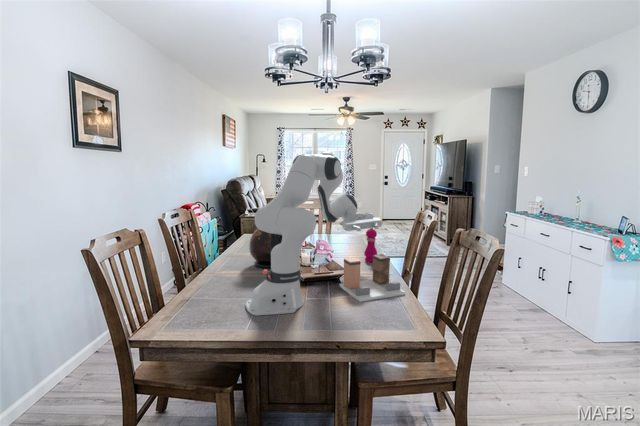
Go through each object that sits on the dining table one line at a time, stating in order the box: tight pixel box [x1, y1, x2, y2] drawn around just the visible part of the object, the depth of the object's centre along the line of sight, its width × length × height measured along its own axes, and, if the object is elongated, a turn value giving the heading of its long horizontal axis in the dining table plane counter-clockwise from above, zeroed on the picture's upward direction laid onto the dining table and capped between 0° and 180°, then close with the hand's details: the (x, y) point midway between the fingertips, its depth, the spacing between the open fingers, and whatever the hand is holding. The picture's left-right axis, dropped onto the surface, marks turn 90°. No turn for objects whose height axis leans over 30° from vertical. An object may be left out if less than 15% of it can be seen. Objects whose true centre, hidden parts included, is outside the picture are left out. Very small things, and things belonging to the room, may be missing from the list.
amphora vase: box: [248, 227, 282, 270], centre depth 191 cm, size 22×22×28 cm
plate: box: [339, 278, 406, 303], centre depth 157 cm, size 22×19×4 cm
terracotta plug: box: [343, 256, 362, 289], centre depth 157 cm, size 5×6×12 cm
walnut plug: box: [372, 253, 391, 284], centre depth 163 cm, size 5×6×12 cm
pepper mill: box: [363, 228, 378, 264], centre depth 200 cm, size 7×7×20 cm
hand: (368, 228), depth 173 cm, fingers open, 8 cm apart
